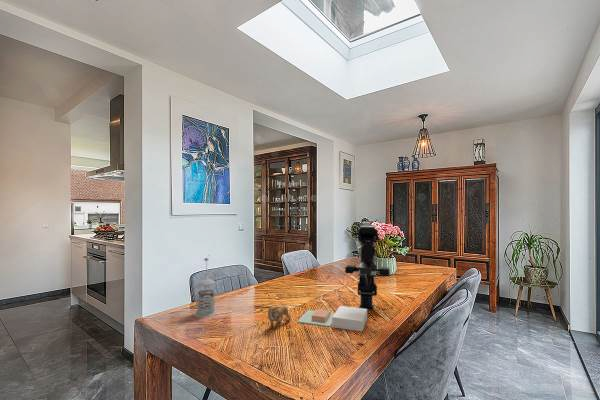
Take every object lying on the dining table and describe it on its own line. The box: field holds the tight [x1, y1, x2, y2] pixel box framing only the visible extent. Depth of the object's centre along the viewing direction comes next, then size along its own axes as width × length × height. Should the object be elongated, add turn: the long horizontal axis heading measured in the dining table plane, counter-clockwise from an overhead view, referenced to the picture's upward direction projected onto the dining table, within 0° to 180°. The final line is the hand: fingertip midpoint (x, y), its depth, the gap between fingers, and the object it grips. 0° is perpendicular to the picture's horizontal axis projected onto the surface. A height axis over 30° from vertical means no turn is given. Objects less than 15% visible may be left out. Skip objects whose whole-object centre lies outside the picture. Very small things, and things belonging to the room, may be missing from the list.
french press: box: [190, 257, 218, 319], centre depth 136 cm, size 10×12×25 cm
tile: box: [312, 308, 332, 322], centre depth 131 cm, size 9×6×2 cm, turn 160°
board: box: [331, 305, 368, 332], centre depth 126 cm, size 15×12×4 cm
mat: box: [296, 309, 336, 328], centre depth 131 cm, size 15×14×1 cm
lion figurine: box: [267, 305, 291, 329], centre depth 124 cm, size 15×5×9 cm, turn 156°
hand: (367, 290), depth 132 cm, fingers closed
